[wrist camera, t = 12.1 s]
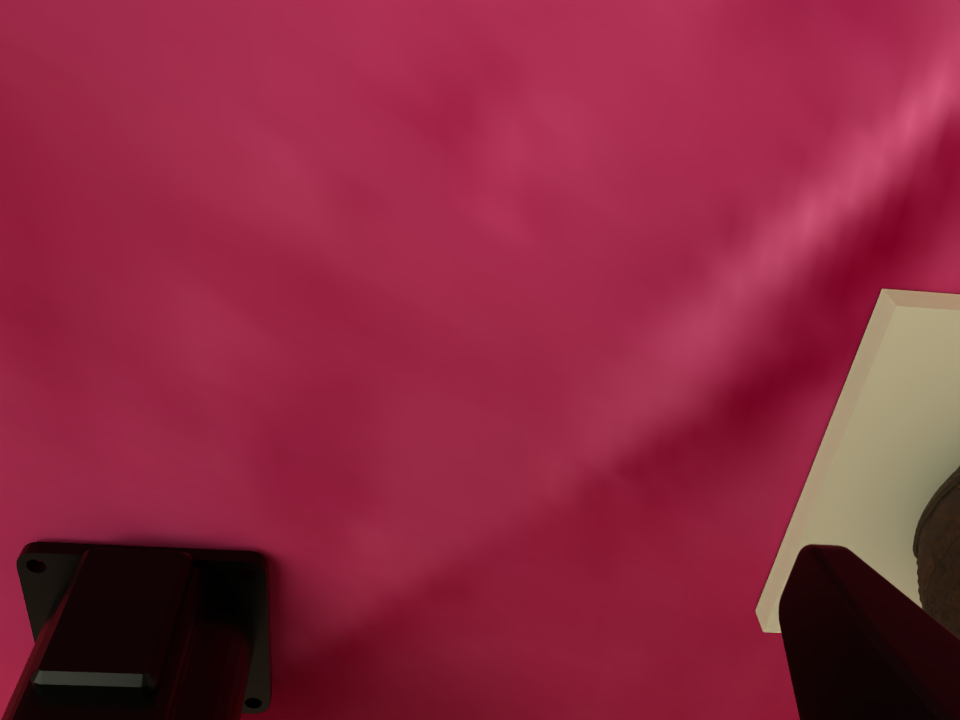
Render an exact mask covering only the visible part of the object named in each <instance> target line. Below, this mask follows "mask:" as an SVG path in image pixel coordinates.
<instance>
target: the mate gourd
mask: <svg viewBox="0 0 960 720" xmlns="http://www.w3.org/2000/svg"><path fill="white" fill-rule="evenodd" d="M913 553H914V556H915V557H916V559H917V561H916V564H917V566H918V569H917V575H918V580H917V583H918V585H919V588H918V593H919V596H920V598H919V600H920V602H921V604H922V609H923V610H924V611H926V612H927V613H928V614H929V615H931V616H932V617H933V618H934V619H936V620H937V621H938V622H939V623H940V624H942V625H943V626H944V627H945V628H947V629H948V630H949V631H950V632H951V633H953V634H954V635H955V636H956V637H958V638H959V639H960V466H959V467H958V468H957V469H956V471H955V472H953V473H952V474H951V475H950V476H949V478H948V479H947V480H946V481H945V482H944V483H943V484H942V485H941V486H940V487H939V488H938V490H937V491H936V492H935V493H934V495H933V497H932V498H931V500H930V501H929V502H928V504H927V506H926V507H925V509H924V511H923V513H922V514H921V517H920V519H919V521H918V524H917V527H916V531H915V536H914V542H913Z"/></svg>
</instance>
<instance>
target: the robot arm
mask: <svg viewBox="0 0 960 720" xmlns="http://www.w3.org/2000/svg"><path fill="white" fill-rule="evenodd" d="M37 560H40V561H42V562H39V561H37ZM247 568H248V569H252V570H254V571H248V570H245V569H247ZM17 569H18V574H19V578H20V582H21V586H22V591H23V595H24V599H25V603H26V608H27V612H28V616H29V620H30V624H31V629H32V633H33V637H34V641H35V645H34V647H33V649H32V652H31V654H30V656H29V658H28V661H27V663H26V665H25V667H24V670H23V672H22V674H21V676H20V679H19V681H18V683H17V685H16V688H15V690H14V692H13V694H12V697H11V699H10V701H9V703H8V706H7V708H6V710H5V712H4V715H3V717H2V719H1V720H240V718H241V713H261V712H263V711H266V710H267V709H268V708H269V706H270V701H271V695H272V674H271V637H270V599H269V565H268V562H267V560H266V558H265V557H264V556H263V555H261V554H259V553H256V552H251V551H233V550H210V549H188V548H165V547H143V546H120V545H98V544H75V543H53V542H32V543H29V544H27V545H26V546H25V547H24V548H23V549H22V551H21V553H20V555H19V557H18V559H17ZM778 614H779V624H780V629H781V633H782V638H783V643H784V647H785V652H786V657H787V661H788V666H789V671H790V675H791V680H792V685H793V689H794V694H795V699H796V703H797V708H798V713H799V718H800V720H960V639H959V638H958V637H956V636H955V635H954V634H953V633H951V632H950V631H949V630H948V629H947V628H945V627H944V626H943V625H942V624H940V623H939V622H938V621H937V620H936V619H934V618H933V617H932V616H931V615H929V614H928V613H927V612H926V611H924V610H923V609H922V608H921V607H920V606H918V605H917V604H916V603H915V602H913V601H912V600H911V599H910V598H909V597H907V596H906V595H905V594H904V593H902V592H901V591H900V590H899V589H897V588H896V587H895V586H894V585H893V584H891V583H890V582H889V581H888V580H886V579H885V578H884V577H883V576H882V575H880V574H879V573H878V572H877V571H875V570H874V569H873V568H872V567H870V566H869V565H868V564H867V563H866V562H864V561H863V560H862V559H861V558H859V557H858V556H857V555H856V554H855V553H853V552H852V551H851V550H849V549H848V548H846V547H844V546H840V545H823V544H809V545H805V546H804V547H803V548H802V549H801V550H800V551H799V553H798V555H797V558H796V560H795V563H794V565H793V567H792V570H791V572H790V575H789V577H788V580H787V582H786V585H785V587H784V590H783V592H782V595H781V598H780V602H779V611H778Z"/></svg>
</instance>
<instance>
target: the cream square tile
mask: <svg viewBox="0 0 960 720" xmlns="http://www.w3.org/2000/svg"><path fill="white" fill-rule="evenodd" d="M959 466H960V294H947V293H934V292H920V291H907V290H894V289H882V290H881V293H880V295H879V298H878V300H877V303H876V306H875V308H874V311H873V313H872V316H871V318H870V321H869V323H868V326H867V328H866V331H865V333H864V336H863V339H862V341H861V344H860V346H859V349H858V351H857V354H856V356H855V359H854V361H853V364H852V366H851V369H850V372H849V374H848V377H847V379H846V382H845V384H844V387H843V389H842V392H841V394H840V397H839V399H838V402H837V405H836V407H835V410H834V412H833V415H832V417H831V420H830V422H829V425H828V427H827V430H826V432H825V435H824V438H823V440H822V443H821V445H820V448H819V450H818V453H817V455H816V458H815V460H814V463H813V465H812V468H811V471H810V473H809V476H808V478H807V481H806V483H805V486H804V488H803V491H802V493H801V496H800V498H799V501H798V504H797V506H796V509H795V511H794V514H793V516H792V519H791V521H790V524H789V526H788V529H787V531H786V534H785V537H784V539H783V542H782V544H781V547H780V549H779V552H778V554H777V557H776V559H775V562H774V564H773V567H772V570H771V572H770V575H769V577H768V580H767V582H766V585H765V587H764V590H763V592H762V595H761V597H760V600H759V603H758V605H757V608H756V610H755V611H756V614H757V617H758V619H759V622H760V625H761V627H762V630H763V632H771V633H781V629H780V624H779V614H778V611H779V602H780V598H781V595H782V592H783V590H784V587H785V585H786V582H787V580H788V577H789V575H790V572H791V570H792V567H793V565H794V563H795V560H796V558H797V555H798V553H799V551H800V550H801V549H802V548H803V547H804V546H805V545H809V544H823V545H840V546H844V547H846V548H848V549H849V550H851V551H852V552H853V553H855V554H856V555H857V556H858V557H859V558H861V559H862V560H863V561H864V562H866V563H867V564H868V565H869V566H870V567H872V568H873V569H874V570H875V571H877V572H878V573H879V574H880V575H882V576H883V577H884V578H885V579H886V580H888V581H889V582H890V583H891V584H893V585H894V586H895V587H896V588H897V589H899V590H900V591H901V592H902V593H904V594H905V595H906V596H907V597H909V598H910V599H911V600H912V601H913V602H915V603H916V604H917V605H918V606H920V607H921V608H922V604H921V602H920V600H919V598H920V596H919V593H918V588H919V585H918V583H917V580H918V575H917V569H918V566H917V564H916V561H917V559H916V557H915V556H914V553H913V542H914V536H915V531H916V527H917V524H918V521H919V519H920V517H921V514H922V513H923V511H924V509H925V507H926V506H927V504H928V502H929V501H930V500H931V498H932V497H933V495H934V493H935V492H936V491H937V490H938V488H939V487H940V486H941V485H942V484H943V483H944V482H945V481H946V480H947V479H948V478H949V476H950V475H951V474H952V473H953V472H955V471H956V469H957V468H958V467H959Z"/></svg>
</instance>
